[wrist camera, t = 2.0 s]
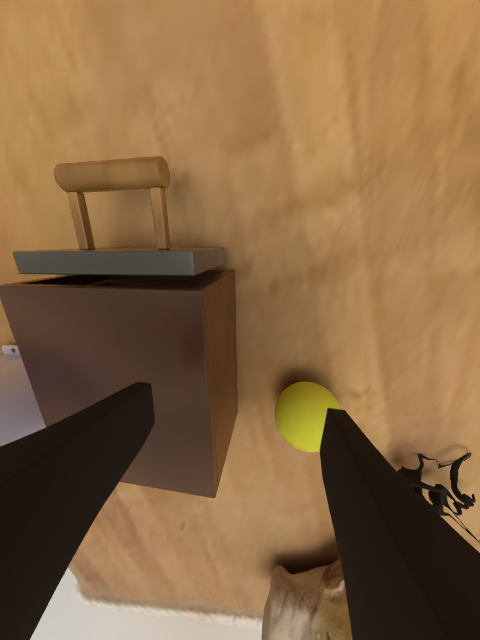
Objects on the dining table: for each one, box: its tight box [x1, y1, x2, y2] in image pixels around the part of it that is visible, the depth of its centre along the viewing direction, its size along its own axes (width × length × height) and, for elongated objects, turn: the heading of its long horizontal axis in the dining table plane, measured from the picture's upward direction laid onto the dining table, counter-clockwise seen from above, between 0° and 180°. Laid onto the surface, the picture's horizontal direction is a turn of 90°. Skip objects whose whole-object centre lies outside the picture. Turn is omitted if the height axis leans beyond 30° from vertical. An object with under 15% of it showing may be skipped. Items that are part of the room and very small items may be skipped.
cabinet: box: [0, 270, 237, 498], centre depth 17 cm, size 13×11×8 cm
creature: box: [397, 453, 480, 543], centre depth 18 cm, size 8×5×8 cm
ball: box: [275, 382, 341, 452], centre depth 18 cm, size 5×5×5 cm
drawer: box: [13, 156, 224, 288], centre depth 16 cm, size 17×10×6 cm, turn 1°
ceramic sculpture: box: [262, 559, 352, 640], centre depth 23 cm, size 11×9×15 cm
